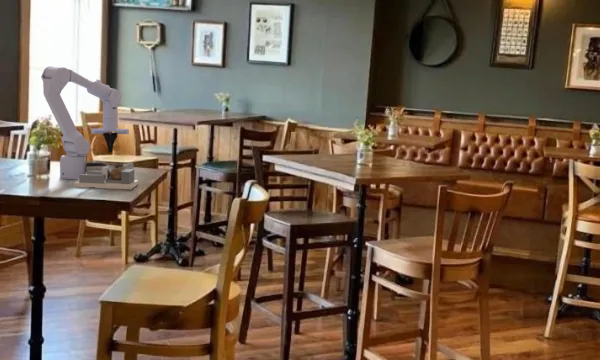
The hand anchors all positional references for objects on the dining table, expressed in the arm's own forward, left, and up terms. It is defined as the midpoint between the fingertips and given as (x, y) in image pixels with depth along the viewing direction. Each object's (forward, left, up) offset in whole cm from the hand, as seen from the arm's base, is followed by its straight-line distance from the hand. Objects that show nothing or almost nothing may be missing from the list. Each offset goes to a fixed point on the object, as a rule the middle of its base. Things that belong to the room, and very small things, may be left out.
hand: (110, 151), depth 307 cm
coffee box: (+11, -11, -6) cm, 16 cm away
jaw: (+6, -26, -6) cm, 27 cm away
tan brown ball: (+10, -26, -5) cm, 28 cm away
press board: (+6, -26, -9) cm, 28 cm away
